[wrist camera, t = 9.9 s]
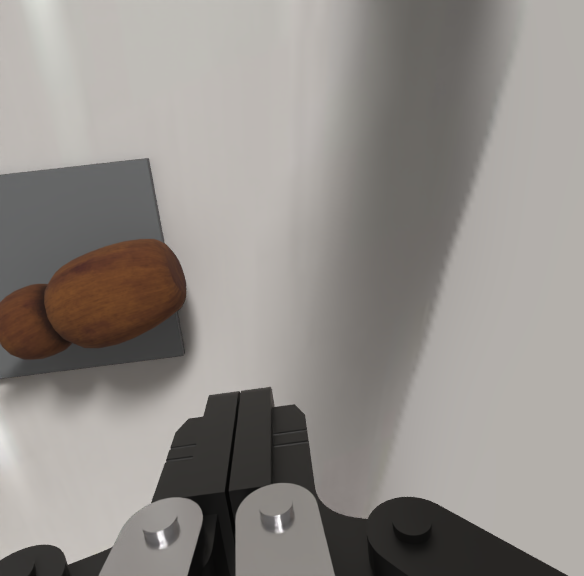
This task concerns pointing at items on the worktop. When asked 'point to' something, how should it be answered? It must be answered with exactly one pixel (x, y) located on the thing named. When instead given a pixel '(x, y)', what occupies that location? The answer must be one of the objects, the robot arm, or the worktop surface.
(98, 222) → the book
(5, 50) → the worktop surface
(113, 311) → the wooden figurine
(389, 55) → the worktop surface
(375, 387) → the worktop surface
